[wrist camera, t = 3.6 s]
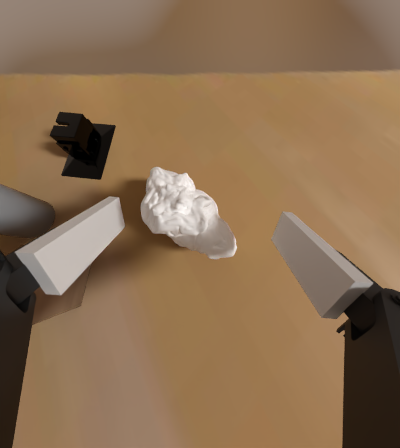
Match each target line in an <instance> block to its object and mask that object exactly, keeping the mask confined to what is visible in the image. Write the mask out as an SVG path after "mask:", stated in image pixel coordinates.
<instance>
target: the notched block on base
mask: <svg viewBox="0 0 400 448" xmlns="http://www.w3.org/2000/svg"><path fill="white" fill-rule="evenodd" d="M56 122H57V123H58V124H59V125H67V126H56V125H54V126H53V129H52V131H51V134H50V136H51V137H52V138H53V139H54V140H56V141H57V143H56V144H57V145H58V146H60V147H61V148H62V149H63V150H64V151H66V152H67V153H68V154H69V155H68V158H67V161H66V163H65V166H64V169H63V172H62V174H61V175H62V176H69V177H79V178H88V179H98V180H100V179H101V177H102V174H103V170H104V167H105V163H106V159H107V156H108V152H109V148H110V145H111V141H112V138H113V134H114V130H115V127H116V126H115V125H105V124H93V123H91V122H90V120H89V119H86V118H85V117H84V115H83V114H77V113H66V112H59V114H58V117H57V119H56Z"/></svg>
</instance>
